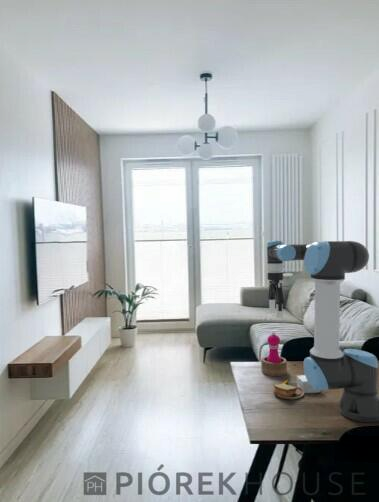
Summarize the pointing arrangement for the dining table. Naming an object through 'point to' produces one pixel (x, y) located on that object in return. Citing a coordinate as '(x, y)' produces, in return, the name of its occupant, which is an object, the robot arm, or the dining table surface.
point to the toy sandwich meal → (288, 391)
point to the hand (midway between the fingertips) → (275, 315)
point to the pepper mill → (273, 348)
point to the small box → (305, 384)
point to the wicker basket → (274, 367)
